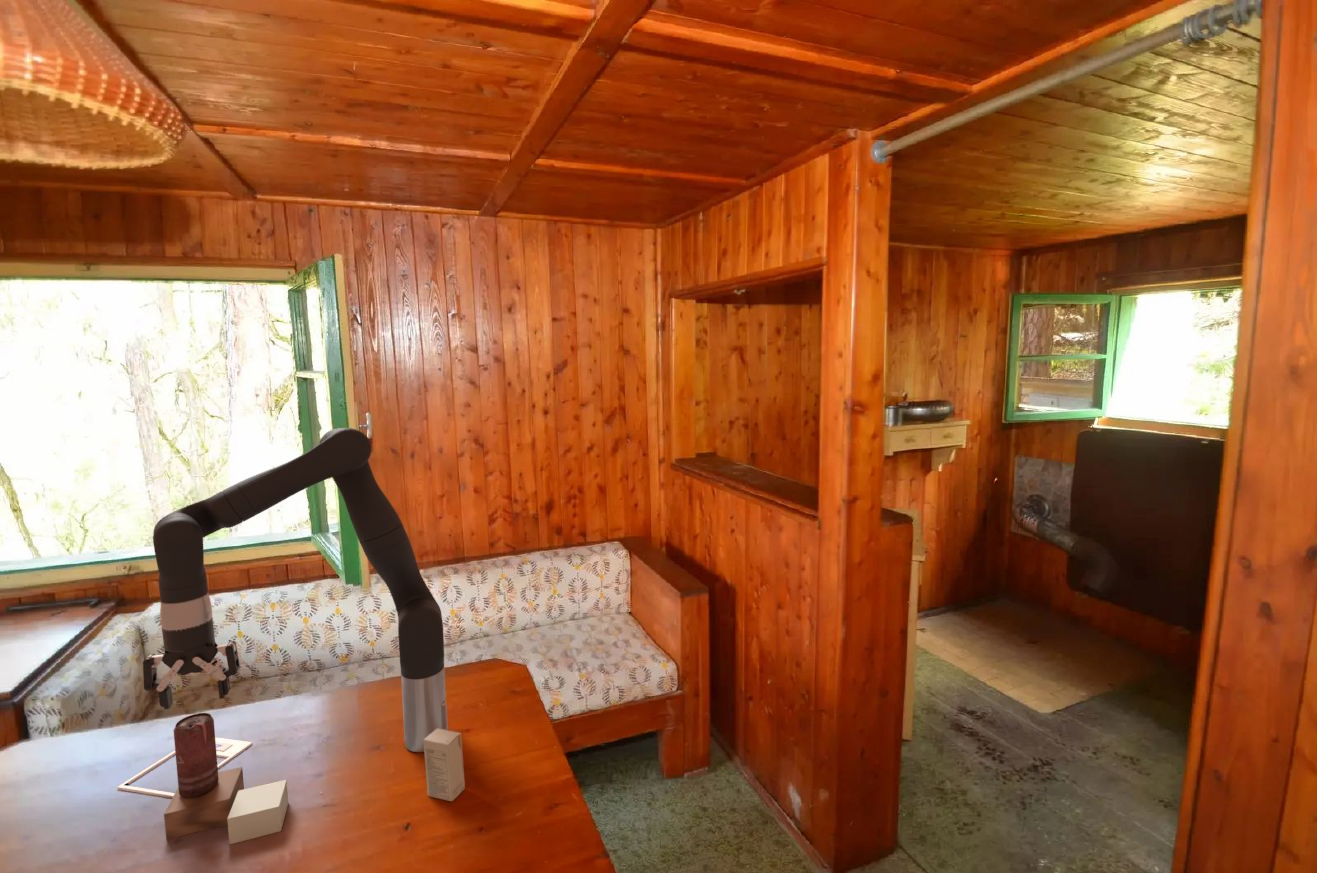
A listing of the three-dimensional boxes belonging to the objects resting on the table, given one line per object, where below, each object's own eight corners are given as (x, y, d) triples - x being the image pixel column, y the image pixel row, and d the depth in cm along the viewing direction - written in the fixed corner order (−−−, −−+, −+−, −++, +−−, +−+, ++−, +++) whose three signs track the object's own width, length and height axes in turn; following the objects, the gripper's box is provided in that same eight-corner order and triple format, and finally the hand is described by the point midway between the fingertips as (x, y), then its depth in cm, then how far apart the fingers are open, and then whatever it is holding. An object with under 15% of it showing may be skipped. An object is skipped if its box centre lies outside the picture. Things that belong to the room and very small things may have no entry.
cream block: (288, 803, 120) (286, 779, 119) (280, 831, 113) (278, 806, 112) (240, 814, 117) (238, 790, 116) (229, 844, 110) (227, 819, 109)
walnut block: (244, 789, 124) (242, 767, 123) (231, 823, 115) (229, 799, 114) (184, 803, 120) (182, 780, 119) (166, 839, 111) (163, 814, 110)
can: (197, 802, 113) (191, 731, 112) (170, 797, 115) (164, 727, 113) (227, 781, 119) (222, 713, 118) (201, 776, 120) (196, 709, 119)
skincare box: (465, 788, 124) (463, 732, 122) (452, 803, 120) (449, 745, 118) (439, 781, 126) (437, 726, 125) (425, 795, 122) (422, 738, 120)
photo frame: (252, 741, 139) (176, 795, 121) (252, 746, 139) (177, 800, 121) (199, 734, 142) (117, 786, 124) (199, 738, 142) (117, 791, 124)
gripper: (237, 606, 119) (245, 684, 121) (147, 619, 113) (157, 700, 115) (227, 621, 112) (236, 703, 114) (131, 635, 107) (141, 721, 108)
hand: (196, 702), depth 115 cm, fingers open, 8 cm apart
